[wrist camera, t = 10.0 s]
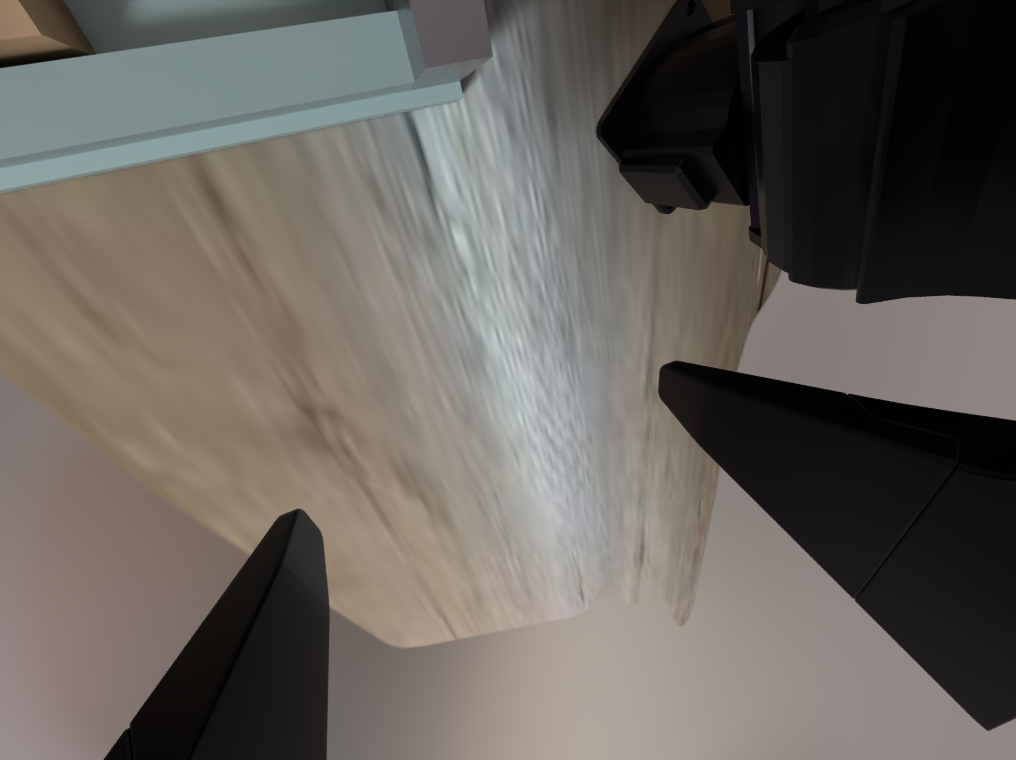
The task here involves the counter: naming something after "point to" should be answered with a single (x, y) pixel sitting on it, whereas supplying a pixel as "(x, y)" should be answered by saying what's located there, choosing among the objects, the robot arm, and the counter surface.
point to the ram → (39, 33)
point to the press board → (207, 25)
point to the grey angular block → (443, 38)
